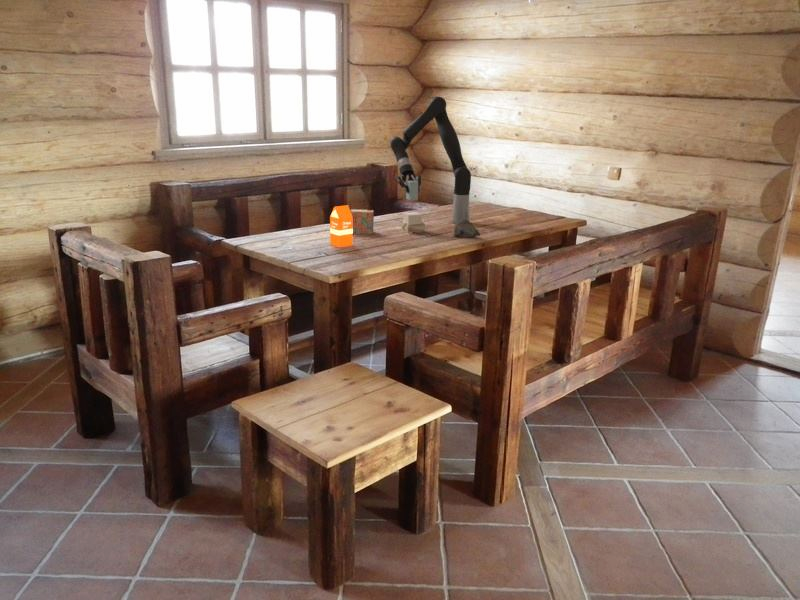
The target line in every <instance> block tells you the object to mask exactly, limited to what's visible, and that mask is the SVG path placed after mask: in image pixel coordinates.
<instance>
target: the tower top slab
mask: <svg viewBox="0 0 800 600" xmlns="http://www.w3.org/2000/svg"><path fill="white" fill-rule="evenodd" d="M402 213H403V215H402V217H403V218H402V221H403V222H405V223H407V224H420V223H423V221H422V220H423V218H422V216H423V215H422V214H421V213H419V212H417V211H413V212H412V211H411V212H402Z"/></svg>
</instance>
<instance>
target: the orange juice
mask: <svg viewBox="0 0 800 600" xmlns="http://www.w3.org/2000/svg"><path fill="white" fill-rule="evenodd" d="M349 206H350V205H349V204H347V205H339V206H338V205H337V206H334V207H333V209H332V212H331V214H330V216H329V226H330V227H329V234H330V236H329V237H330V238H329V241H330V245H331V246H334V247H337V248H343V247H344V248H345V247H349V246H353V245H354V243H353V241H354V240H353V238H354V235H353V234H354V233H353V217H352V214H351V209H350V207H349Z"/></svg>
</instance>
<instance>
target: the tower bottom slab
mask: <svg viewBox="0 0 800 600" xmlns="http://www.w3.org/2000/svg"><path fill="white" fill-rule="evenodd" d="M425 226H426V223H424V222H422V223H420V224H407V223H405V222H403V220H401V225H400V229H403V230H404V231H403V230H402V231H403V232H405V231H406V232H405V233H407V232H408V233H407V234H411V233H410V232H417V233H425V230H426V229H425V228H426V227H425Z"/></svg>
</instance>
